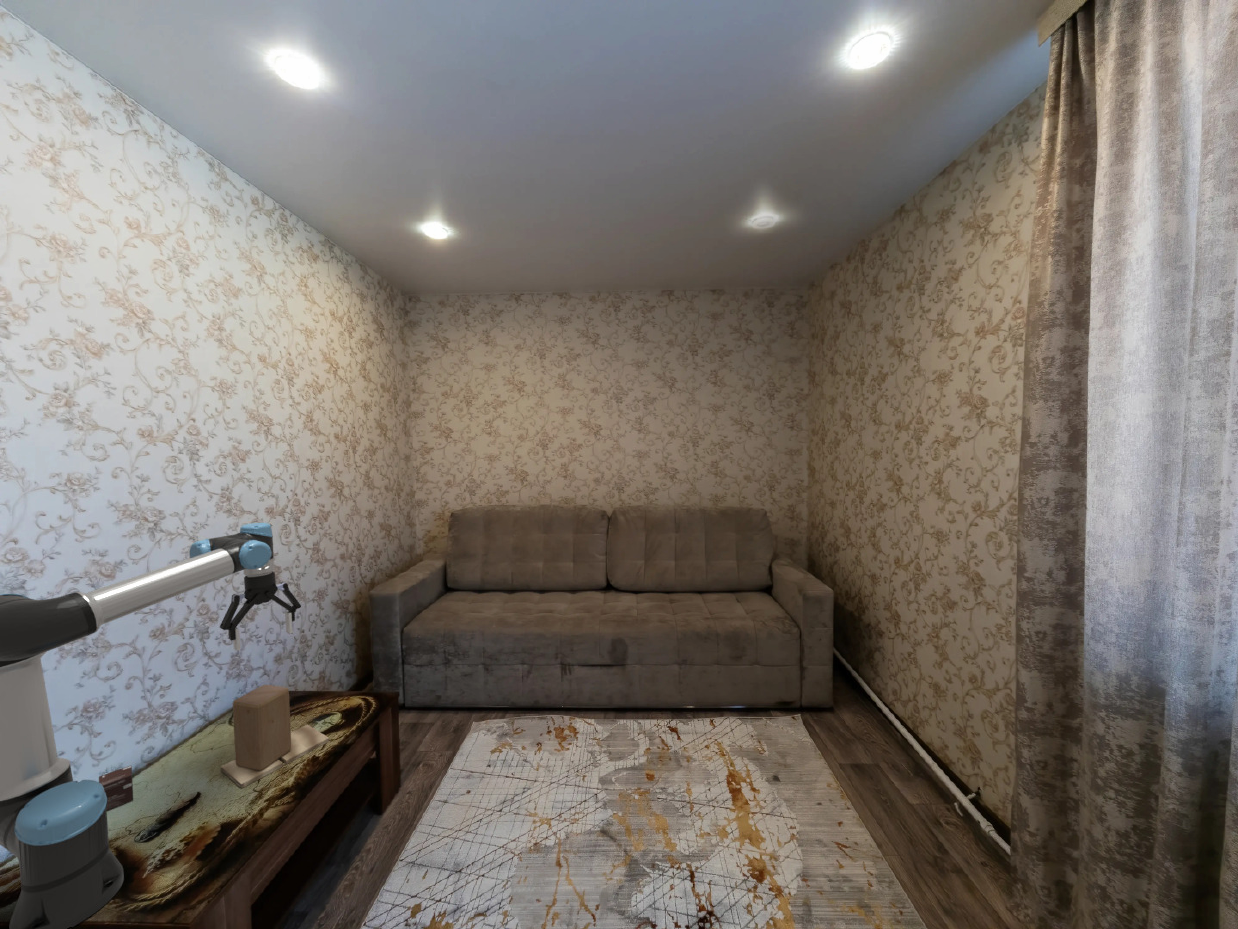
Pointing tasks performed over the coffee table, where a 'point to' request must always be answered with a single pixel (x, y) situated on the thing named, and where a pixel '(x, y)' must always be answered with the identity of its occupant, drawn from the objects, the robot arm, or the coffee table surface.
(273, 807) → the coffee table surface
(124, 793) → the box
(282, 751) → the wooden block
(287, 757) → the laid boards
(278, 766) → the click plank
